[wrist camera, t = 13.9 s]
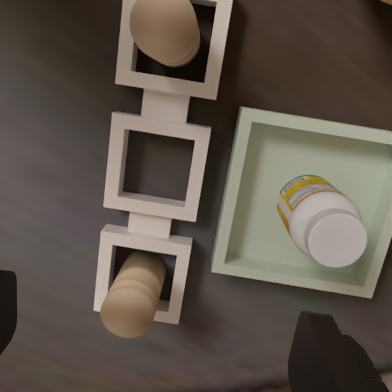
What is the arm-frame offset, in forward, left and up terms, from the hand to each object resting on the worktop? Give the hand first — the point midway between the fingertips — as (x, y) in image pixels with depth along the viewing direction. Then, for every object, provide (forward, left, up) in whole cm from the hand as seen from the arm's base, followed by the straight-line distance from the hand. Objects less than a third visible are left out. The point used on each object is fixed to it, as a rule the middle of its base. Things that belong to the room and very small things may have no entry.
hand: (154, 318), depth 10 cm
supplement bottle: (+2, +11, -25) cm, 27 cm away
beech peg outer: (+12, -3, -25) cm, 28 cm away
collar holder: (+1, -3, -25) cm, 25 cm away
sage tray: (+2, +11, -25) cm, 27 cm away
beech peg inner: (-10, -3, -25) cm, 27 cm away
